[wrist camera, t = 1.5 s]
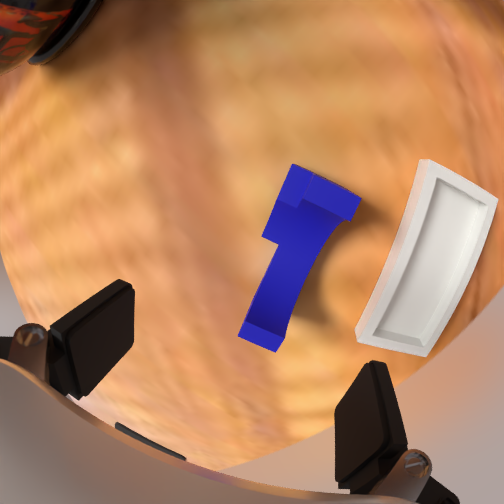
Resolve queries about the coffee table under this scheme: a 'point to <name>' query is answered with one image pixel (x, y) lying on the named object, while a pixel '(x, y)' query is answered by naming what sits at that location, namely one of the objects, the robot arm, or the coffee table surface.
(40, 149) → the coffee table surface
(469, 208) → the tray
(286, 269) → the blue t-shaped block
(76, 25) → the amphora vase
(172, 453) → the phone
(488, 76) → the coffee table surface
